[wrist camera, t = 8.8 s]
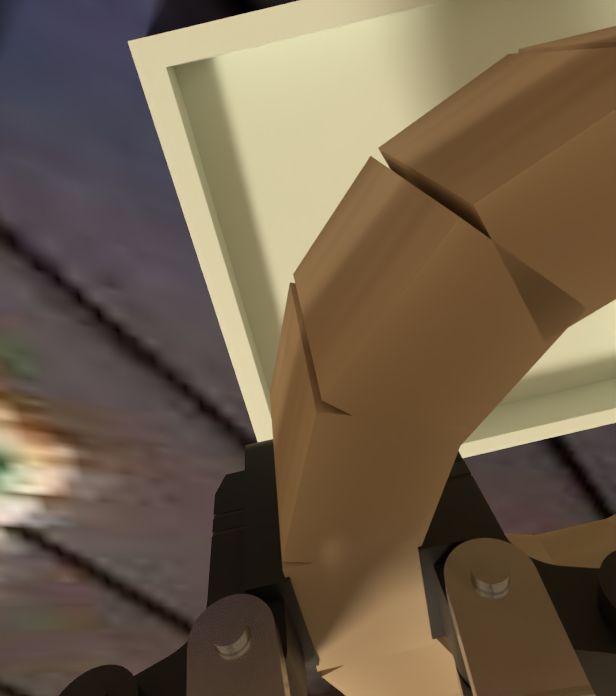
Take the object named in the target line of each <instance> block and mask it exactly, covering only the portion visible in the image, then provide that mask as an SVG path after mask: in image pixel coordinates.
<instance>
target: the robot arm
mask: <svg viewBox="0 0 616 696" xmlns="http://www.w3.org/2000/svg"><path fill="white" fill-rule="evenodd" d="M212 532H213V537H212V545H211V559H210V573H209V587H208V600H207V607H206V610H205V611H204V612H203V613H202V614H201V615H200V616H199V618H198V619H197V620H196V622H195V624H194V625H193V627H192V629H191V632H190V635H189V638H188V641H187V642H186V643H185V644H184V645H183V646H182V647H181V648H180V649H178V650H177V651H176V652H175V653H173V654H171V655H170V656H168V657H167V658H165V659H163V660H161V661H160V662H158V663H156V664H154V665H153V666H151V667H149V668H147V669H146V670H144V671H142V672H140V673H139V674H137V675H135V676H133V675H132V673H131V672H130V671H129V670H127V669H126V668H124V667H122V666H118V665H103V666H99V667H96V668H93V669H91V670H89V671H87V672H85V673H84V674H82V675H81V676H79V677H77V678H76V679H75V680H74V681H73V682H71V683H70V684H69V685H68V686H67V687H66V688H65V689H64V690H63V691H62V693H61V694H60V695H59V696H308V693H307V683H306V673H305V669H306V668H310V667H314V666H319V661H318V658H317V656H316V653H315V650H314V647H313V644H312V641H311V638H310V635H309V632H308V629H307V626H306V623H305V620H304V617H303V614H302V611H301V609H300V606H299V603H298V600H297V597H296V594H295V591H294V588H293V585H292V582H291V579H290V577H286V578H285V576H284V573H283V570H282V556H281V542H280V528H279V515H278V501H277V487H276V473H275V459H274V445H273V439H271V440H266V441H262V442H258V443H254V444H249V445H246V446H245V470H244V471H240V472H236V473H231V474H227V475H226V476H225V478H224V479H223V481H222V483H221V485H220V487H219V489H218V490H217V492H216V494H215V503H214V519H213V531H212ZM418 553H419V560H420V566H421V572H422V579H423V585H424V591H425V598H426V604H427V610H428V617H429V623H430V629H431V636H432V639H438V638H442V637H446V638H447V641H448V643H449V646H450V649H451V652H452V655H453V658H454V661H455V667H456V675H457V680H458V684H459V688H460V692H461V696H616V550H615V551H613V552H611V553H610V554H609V555H608V556H607V557H606V558H605V559H604V560H603V562H602V564H601V566H600V568H586V567H571V566H559V565H552V564H548V563H544V562H541V561H538V560H536V559H534V558H532V557H529V556H528V555H526V554H525V553H524V552H523V551H522V550H521V549H519V548H518V547H516V546H514V545H513V544H512V543H511V542H510V541H509V540H508V539H507V537H506V536H505V534H504V533H503V531H502V529H501V527H500V525H499V523H498V522H497V520H496V518H495V516H494V514H493V513H492V511H491V509H490V507H489V505H488V503H487V502H486V500H485V498H484V496H483V494H482V493H481V491H480V489H479V487H478V485H477V484H476V482H475V480H474V478H473V476H471V473H470V471H469V469H468V467H467V465H466V464H465V462H464V461H463V459H462V456H461V454H460V453H459V451H458V453H457V456H456V459H455V461H454V464H453V466H452V469H451V471H450V474H449V477H448V479H447V482H446V484H445V487H444V489H443V492H442V495H441V497H440V500H439V502H438V505H437V507H436V510H435V513H434V515H433V518H432V520H431V523H430V525H429V528H428V531H427V533H426V536H425V538H424V541H423V543H422V546H420V547H418Z"/></svg>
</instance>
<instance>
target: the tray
mask: <svg viewBox="0 0 616 696" xmlns="http://www.w3.org/2000/svg"><path fill="white" fill-rule="evenodd" d="M613 26H616V0H299V1H295V2H290V3H286V4H282V5H278V6H274V7H270V8H265V9H261V10H257V11H253V12H249V13H244V14H240V15H236V16H232V17H228V18H224V19H219V20H215V21H211V22H207V23H203V24H198V25H194V26H190V27H186V28H182V29H178V30H173V31H169V32H165V33H161V34H157V35H152V36H148V37H144V38H140V39H136V40H131V41H128V44H129V47H130V50H131V53H132V56H133V59H134V62H135V66H136V69H137V72H138V75H139V78H140V81H141V84H142V87H143V90H144V93H145V96H146V99H147V102H148V106H149V109H150V112H151V115H152V118H153V121H154V124H155V127H156V130H157V133H158V136H159V139H160V142H161V146H162V149H163V152H164V155H165V158H166V161H167V164H168V167H169V170H170V173H171V176H172V179H173V182H174V186H175V189H176V192H177V195H178V198H179V201H180V204H181V207H182V210H183V213H184V216H185V219H186V222H187V226H188V229H189V232H190V235H191V238H192V241H193V244H194V247H195V250H196V253H197V256H198V259H199V263H200V266H201V269H202V272H203V275H204V278H205V281H206V284H207V287H208V290H209V293H210V296H211V299H212V303H213V306H214V309H215V312H216V315H217V318H218V321H219V324H220V327H221V330H222V333H223V336H224V339H225V343H226V346H227V349H228V352H229V355H230V358H231V361H232V364H233V367H234V370H235V373H236V376H237V379H238V383H239V386H240V389H241V392H242V395H243V398H244V401H245V404H246V407H247V410H248V413H249V416H250V419H251V423H252V426H253V429H254V432H255V435H256V438H257V441H258V442H262V441H266V440H271V439H273V431H272V417H271V403H270V390H271V384H272V379H273V373H274V368H275V362H276V357H277V351H278V345H279V340H280V334H281V329H282V323H283V318H284V312H285V307H286V301H287V295H288V290H289V284H290V282H291V283H295V280H294V276H293V273H294V272H295V270H296V269H297V267H298V266H299V264H300V263H301V261H302V260H303V258H304V257H305V255H306V254H307V252H308V251H309V249H310V247H311V246H312V244H313V243H314V241H315V240H316V238H317V237H318V235H319V234H320V232H321V231H322V229H323V228H324V226H325V225H326V223H327V222H328V220H329V218H330V217H331V215H332V214H333V212H334V211H335V209H336V208H337V206H338V205H339V203H340V202H341V200H342V199H343V197H344V196H345V194H346V192H347V191H348V189H349V188H350V186H351V185H352V183H353V182H354V180H355V179H356V177H357V176H358V174H359V173H360V171H361V170H362V168H363V167H364V165H365V163H366V162H367V160H368V159H369V157H370V156H372V157H373V158H375V159H376V160H378V161H379V162H380V163H382V164H383V165H385V166H386V167H388V168H389V166H388V164H387V163H386V161H385V159H384V157H383V156H382V154H381V152H380V151H379V149H378V148H379V147H380V146H381V145H383V144H384V143H386V142H387V141H388V140H390V139H391V138H392V137H394V136H395V135H397V134H398V133H399V132H401V131H402V130H404V129H405V128H406V127H408V126H409V125H410V124H412V123H413V122H415V121H416V120H417V119H419V118H420V117H422V116H423V115H424V114H426V113H427V112H428V111H430V110H431V109H433V108H434V107H435V106H437V105H438V104H440V103H441V102H442V101H444V100H445V99H446V98H448V97H449V96H451V95H452V94H453V93H455V92H456V91H458V90H459V89H460V88H462V87H463V86H464V85H466V84H467V83H469V82H470V81H471V80H473V79H474V78H476V77H477V76H478V75H480V74H481V73H483V72H484V71H485V70H487V69H488V68H489V67H491V66H492V65H494V64H495V63H496V62H498V61H499V60H501V59H502V58H503V57H505V56H506V55H507V54H516V53H518V49H521V48H525V47H529V46H534V45H538V44H542V43H546V42H550V41H555V40H559V39H563V38H567V37H571V36H575V35H580V34H584V33H588V32H592V31H596V30H601V29H605V28H609V27H613ZM389 169H390V168H389ZM612 423H616V299H615V300H614V301H612V302H610V303H609V304H607V305H605V306H604V307H602V308H600V309H599V310H597V311H595V312H594V313H592V314H590V315H589V316H587V317H585V318H584V319H582V320H580V321H579V322H577V323H575V324H573V325H572V326H570V327H568V328H567V329H566V330H565V332H564V333H563V334H562V335H561V336H560V337H559V338H558V339H557V340H556V341H555V343H554V344H553V345H552V346H551V347H550V348H549V349H548V350H547V351H546V352H545V354H544V355H543V356H542V357H541V358H540V359H539V360H538V361H537V362H536V363H535V365H534V366H533V367H532V368H531V369H530V370H529V371H528V372H527V373H526V374H525V376H524V377H523V378H522V379H521V380H520V381H519V382H518V383H517V384H516V385H515V386H514V388H513V389H512V390H511V391H510V392H509V393H508V394H507V395H506V396H505V397H504V399H503V400H502V401H501V402H500V403H499V404H498V405H497V406H496V407H495V408H494V410H493V411H492V412H491V413H490V414H489V415H488V416H487V417H486V418H485V419H484V421H483V422H482V423H481V424H480V425H479V426H478V427H477V428H476V429H475V430H474V432H473V433H472V434H471V435H470V436H469V437H468V438H467V439H466V440H465V441H464V443H463V444H462V445H461V446H460V448H459V453H460V454H461V456H462V458H466V457H470V456H474V455H478V454H483V453H487V452H491V451H496V450H500V449H504V448H509V447H513V446H517V445H521V444H526V443H530V442H534V441H539V440H543V439H547V438H552V437H556V436H560V435H564V434H569V433H573V432H577V431H582V430H586V429H590V428H595V427H599V426H603V425H608V424H612Z"/></svg>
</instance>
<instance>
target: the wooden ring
mask: <svg viewBox="0 0 616 696" xmlns="http://www.w3.org/2000/svg"><path fill="white" fill-rule="evenodd" d="M378 149H379V151H380V152H381V154H382V156H383V157H384V159H385V161H386V163H387V164H388V166H389V168H390V169H389V168H388V167H386V166H385V165H383V164H382V163H380V162H379V161H378V160H376V159H375V158H373V157H372V156H370V157H369V159H368V160H367V162H366V163H365V165H364V167H363V168H362V170H361V171H360V173H359V174H358V176H357V177H356V179H355V180H354V182H353V183H352V185H351V186H350V188H349V189H348V191H347V192H346V194H345V196H344V197H343V199H342V200H341V202H340V203H339V205H338V206H337V208H336V209H335V211H334V212H333V214H332V215H331V217H330V218H329V220H328V222H327V223H326V225H325V226H324V228H323V229H322V231H321V232H320V234H319V235H318V237H317V238H316V240H315V241H314V243H313V244H312V246H311V247H310V249H309V251H308V252H307V254H306V255H305V257H304V258H303V260H302V261H301V263H300V264H299V266H298V267H297V269H296V270H295V272H294V273H293V276H294V280H295V283H291V282H290V284H289V290H288V295H287V301H286V307H285V312H284V318H283V323H282V329H281V334H280V340H279V345H278V351H277V357H276V362H275V368H274V373H273V379H272V384H271V390H270V403H271V417H272V431H273V445H274V459H275V473H276V487H277V501H278V515H279V528H280V542H281V556H282V570H283V573H284V576H285V578H286V577H290V579H291V582H292V585H293V588H294V591H295V594H296V597H297V600H298V603H299V606H300V609H301V611H302V614H303V617H304V620H305V623H306V626H307V629H308V632H309V635H310V638H311V641H312V644H313V647H314V650H315V653H316V656H317V658H318V661H319V666H316V668H317V671H321V675H322V677H323V678H324V679H325V680H326V681H328V682H329V683H330V684H332V685H333V686H334V687H335V688H337V689H338V690H339V691H340V692H342V693H343V694H344V695H346V696H461V692H460V688H459V684H458V680H457V675H456V667H455V661H454V658H453V655H452V652H451V649H450V646H449V643H448V641H447V638H446V637H442V638H438V639H432V636H431V629H430V623H429V617H428V610H427V604H426V598H425V591H424V585H423V579H422V572H421V566H420V560H419V553H418V547H420V546H422V543H423V541H424V538H425V536H426V533H427V531H428V528H429V525H430V523H431V520H432V518H433V515H434V513H435V510H436V507H437V505H438V502H439V500H440V497H441V495H442V492H443V489H444V487H445V484H446V482H447V479H448V477H449V474H450V471H451V469H452V466H453V464H454V461H455V459H456V456H457V453H458V451H459V448H460V446H461V445H462V444H463V443H464V441H465V440H466V439H467V438H468V437H469V436H470V435H471V434H472V433H473V432H474V430H475V429H476V428H477V427H478V426H479V425H480V424H481V423H482V422H483V421H484V419H485V418H486V417H487V416H488V415H489V414H490V413H491V412H492V411H493V410H494V408H495V407H496V406H497V405H498V404H499V403H500V402H501V401H502V400H503V399H504V397H505V396H506V395H507V394H508V393H509V392H510V391H511V390H512V389H513V388H514V386H515V385H516V384H517V383H518V382H519V381H520V380H521V379H522V378H523V377H524V376H525V374H526V373H527V372H528V371H529V370H530V369H531V368H532V367H533V366H534V365H535V363H536V362H537V361H538V360H539V359H540V358H541V357H542V356H543V355H544V354H545V352H546V351H547V350H548V349H549V348H550V347H551V346H552V345H553V344H554V343H555V341H556V340H557V339H558V338H559V337H560V336H561V335H562V334H563V333H564V332H565V330H566V329H567V328H568V327H570V326H572V325H573V324H575V323H577V322H579V321H580V320H582V319H584V318H585V317H587V316H589V315H590V314H592V313H594V312H595V311H597V310H599V309H600V308H602V307H604V306H605V305H607V304H609V303H610V302H612V301H614V300H615V299H616V26H613V27H609V28H605V29H601V30H596V31H592V32H588V33H584V34H580V35H575V36H571V37H567V38H563V39H559V40H555V41H550V42H546V43H542V44H538V45H534V46H529V47H525V48H521V49H518V53H516V54H507V55H506V56H505V57H503V58H502V59H501V60H499V61H498V62H496V63H495V64H494V65H492V66H491V67H489V68H488V69H487V70H485V71H484V72H483V73H481V74H480V75H478V76H477V77H476V78H474V79H473V80H471V81H470V82H469V83H467V84H466V85H464V86H463V87H462V88H460V89H459V90H458V91H456V92H455V93H453V94H452V95H451V96H449V97H448V98H446V99H445V100H444V101H442V102H441V103H440V104H438V105H437V106H435V107H434V108H433V109H431V110H430V111H428V112H427V113H426V114H424V115H423V116H422V117H420V118H419V119H417V120H416V121H415V122H413V123H412V124H410V125H409V126H408V127H406V128H405V129H404V130H402V131H401V132H399V133H398V134H397V135H395V136H394V137H392V138H391V139H390V140H388V141H387V142H386V143H384V144H383V145H381V146H380V147H379V148H378ZM504 534H505V536H506V537H507V539H508V540H509V541H510V542H511V543H512V544H513V545H514V546H516V547H518V548H519V549H521V550H522V551H523V552H524V553H525V554H526V555H528V556H529V557H532V558H534V559H536V560H538V561H541V562H544V563H548V564H552V565H559V566H571V567H586V568H600V566H601V564H602V562H603V560H604V559H605V558H606V557H607V556H608V555H609V554H610V553H611V552H613V551H615V550H616V514H615V515H613V516H611V517H609V518H607V519H604V520H599V521H595V522H591V523H586V524H582V525H578V526H573V527H569V528H565V529H560V530H556V531H552V532H548V533H543V534H539V535H526V534H510V533H504Z"/></svg>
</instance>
